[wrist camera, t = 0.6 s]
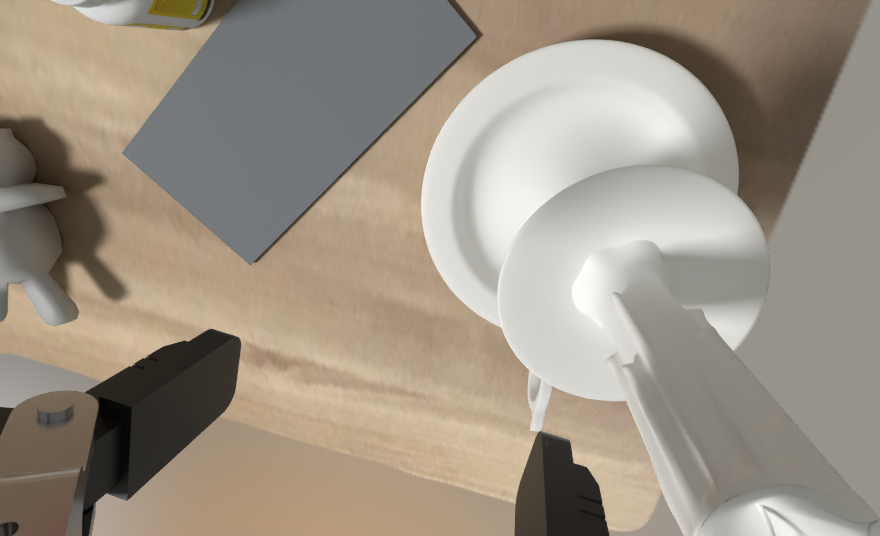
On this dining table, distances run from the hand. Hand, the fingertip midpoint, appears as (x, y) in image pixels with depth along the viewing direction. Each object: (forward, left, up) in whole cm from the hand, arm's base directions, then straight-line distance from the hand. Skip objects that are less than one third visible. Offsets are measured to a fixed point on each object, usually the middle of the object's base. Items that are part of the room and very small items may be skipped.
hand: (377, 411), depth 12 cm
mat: (-11, -4, -25) cm, 28 cm away
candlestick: (+9, +4, -25) cm, 27 cm away
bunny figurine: (-20, -27, -25) cm, 42 cm away
